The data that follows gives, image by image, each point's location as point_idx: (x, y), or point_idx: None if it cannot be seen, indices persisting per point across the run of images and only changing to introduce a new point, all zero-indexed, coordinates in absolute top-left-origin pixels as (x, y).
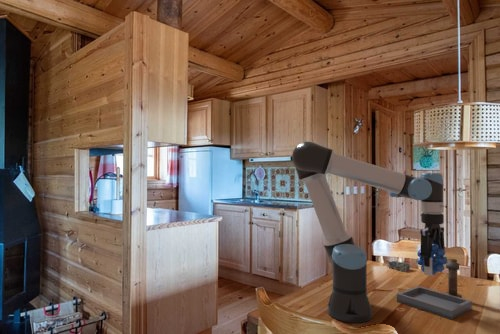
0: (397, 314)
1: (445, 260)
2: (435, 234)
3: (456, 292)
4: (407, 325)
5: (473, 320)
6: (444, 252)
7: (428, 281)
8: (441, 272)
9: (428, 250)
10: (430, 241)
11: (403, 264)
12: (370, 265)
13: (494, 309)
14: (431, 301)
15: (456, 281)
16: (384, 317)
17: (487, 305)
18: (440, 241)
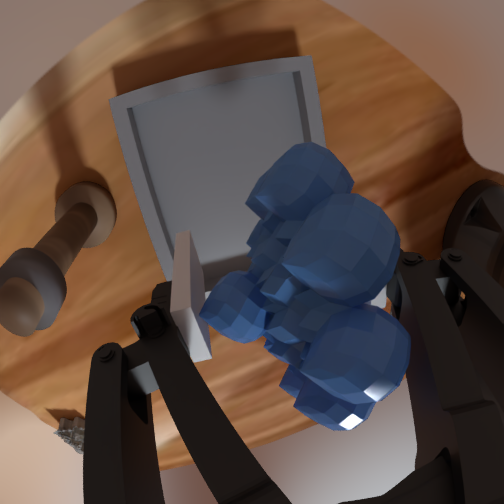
0: (410, 175)
1: (327, 152)
2: (474, 498)
3: (75, 207)
4: (441, 114)
5: (226, 23)
6: (362, 197)
7: (58, 354)
8: (184, 231)
9: (474, 286)
10: (474, 389)
11: (70, 437)
12: None
13: (42, 79)
14: (230, 194)
15: (55, 227)
16: (446, 177)
17: (29, 118)
18: (138, 464)
